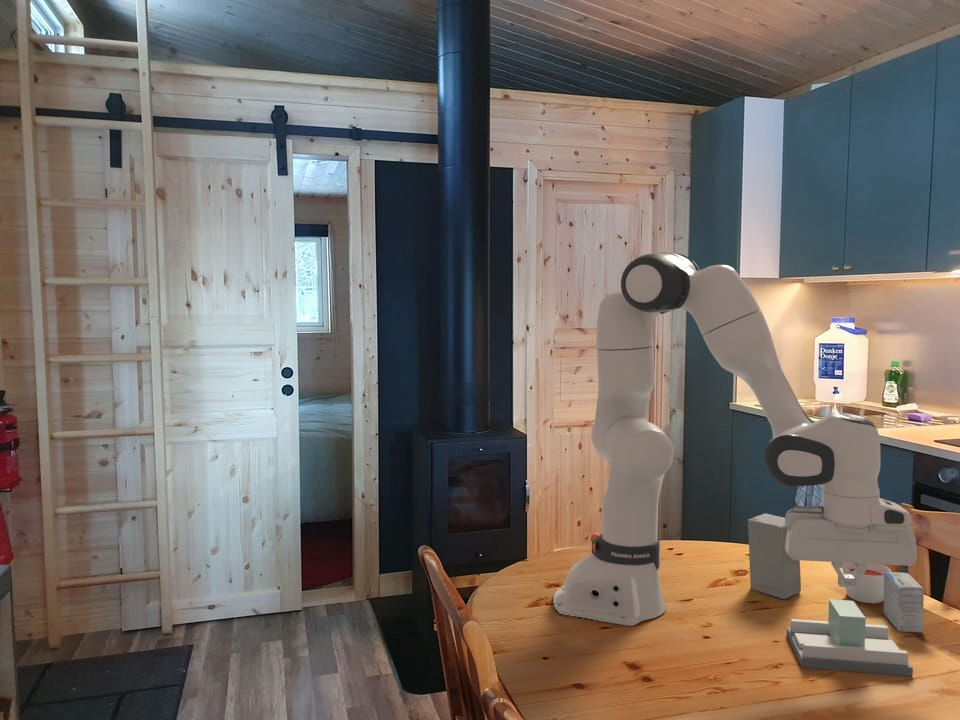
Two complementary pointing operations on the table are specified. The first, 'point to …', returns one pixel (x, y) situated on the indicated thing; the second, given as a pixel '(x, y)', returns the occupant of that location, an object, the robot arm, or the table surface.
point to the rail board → (847, 650)
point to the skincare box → (771, 558)
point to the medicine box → (903, 602)
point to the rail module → (846, 623)
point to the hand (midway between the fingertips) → (848, 586)
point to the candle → (867, 583)
